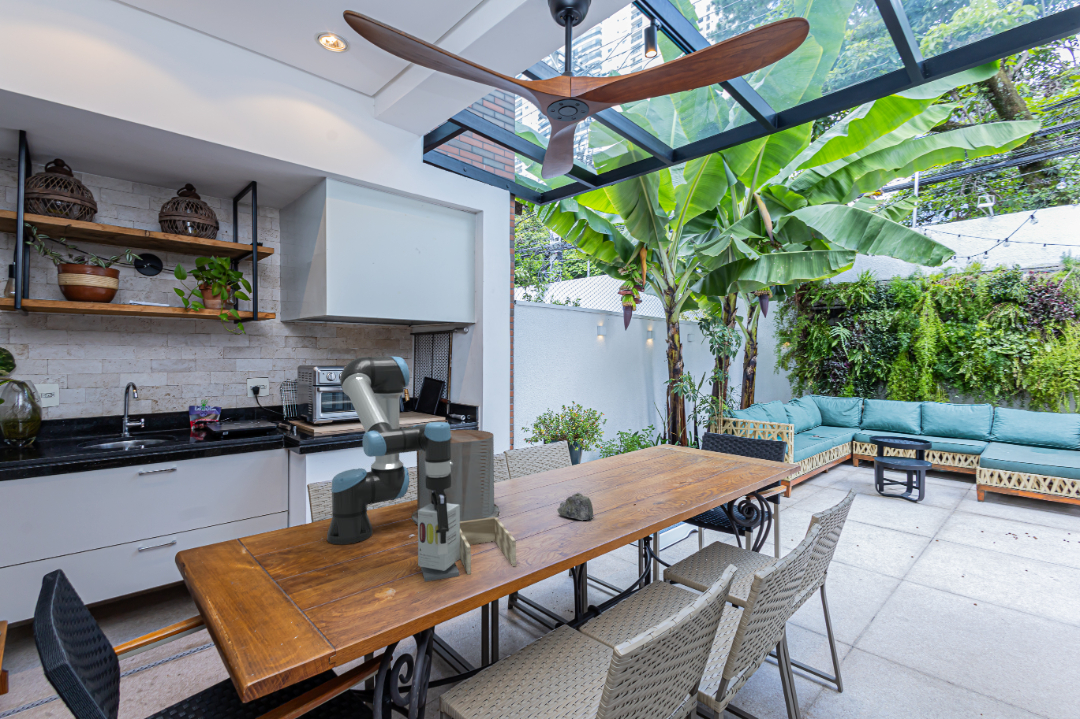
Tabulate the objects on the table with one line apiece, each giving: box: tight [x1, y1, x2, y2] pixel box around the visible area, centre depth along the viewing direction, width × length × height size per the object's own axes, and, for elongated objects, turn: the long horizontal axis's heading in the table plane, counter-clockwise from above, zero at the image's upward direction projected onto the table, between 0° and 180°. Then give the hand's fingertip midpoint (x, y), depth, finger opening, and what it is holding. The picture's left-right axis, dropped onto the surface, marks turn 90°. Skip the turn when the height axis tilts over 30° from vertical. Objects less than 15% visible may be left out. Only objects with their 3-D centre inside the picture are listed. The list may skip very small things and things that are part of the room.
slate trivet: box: [420, 562, 460, 583], centre depth 146 cm, size 10×10×1 cm
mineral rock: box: [556, 492, 594, 521], centre depth 192 cm, size 13×11×10 cm
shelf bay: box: [459, 517, 517, 575], centre depth 157 cm, size 23×15×8 cm, turn 20°
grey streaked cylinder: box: [411, 429, 500, 526], centre depth 196 cm, size 35×35×32 cm
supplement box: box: [417, 503, 461, 571], centre depth 146 cm, size 10×9×17 cm
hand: (439, 545), depth 146 cm, fingers closed on supplement box, 13 cm apart
